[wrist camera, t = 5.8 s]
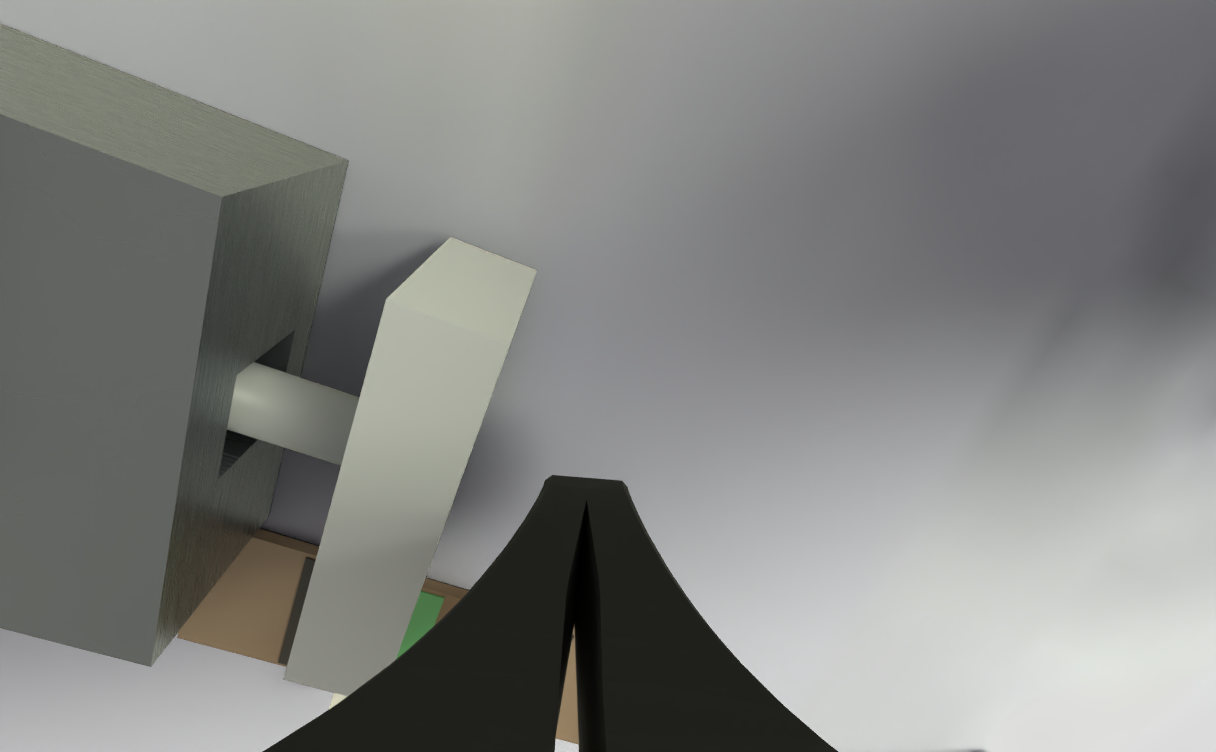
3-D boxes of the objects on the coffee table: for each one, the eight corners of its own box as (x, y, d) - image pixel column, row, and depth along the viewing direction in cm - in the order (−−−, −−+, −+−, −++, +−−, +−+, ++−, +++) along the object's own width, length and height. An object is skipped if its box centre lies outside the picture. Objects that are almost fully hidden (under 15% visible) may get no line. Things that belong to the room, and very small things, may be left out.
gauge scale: (666, 649, 16) (667, 660, 15) (611, 742, 17) (611, 754, 17) (205, 512, 14) (196, 521, 14) (184, 627, 15) (176, 639, 15)
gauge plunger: (537, 270, 11) (510, 343, 8) (381, 698, 16) (323, 858, 13) (-121, 17, 10) (-489, -19, 7) (-90, 574, 14) (-301, 720, 11)
